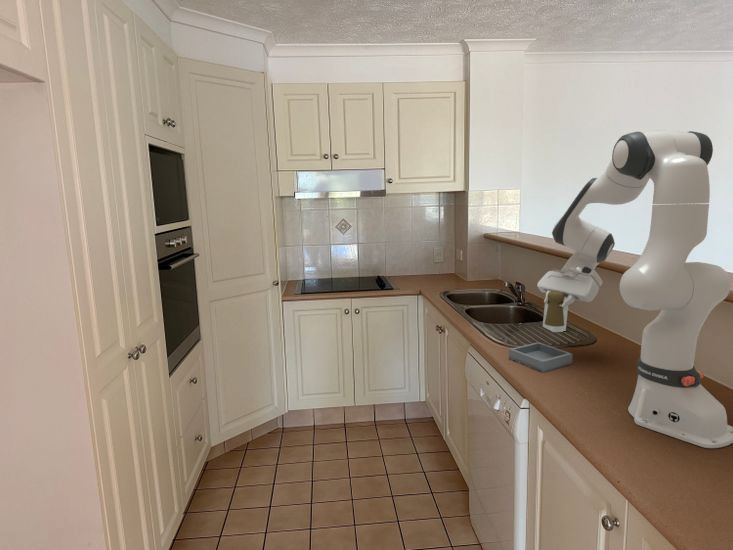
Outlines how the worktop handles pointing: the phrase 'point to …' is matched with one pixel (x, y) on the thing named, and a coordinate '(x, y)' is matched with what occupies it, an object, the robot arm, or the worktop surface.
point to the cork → (555, 309)
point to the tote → (541, 356)
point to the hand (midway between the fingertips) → (554, 305)
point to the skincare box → (553, 328)
